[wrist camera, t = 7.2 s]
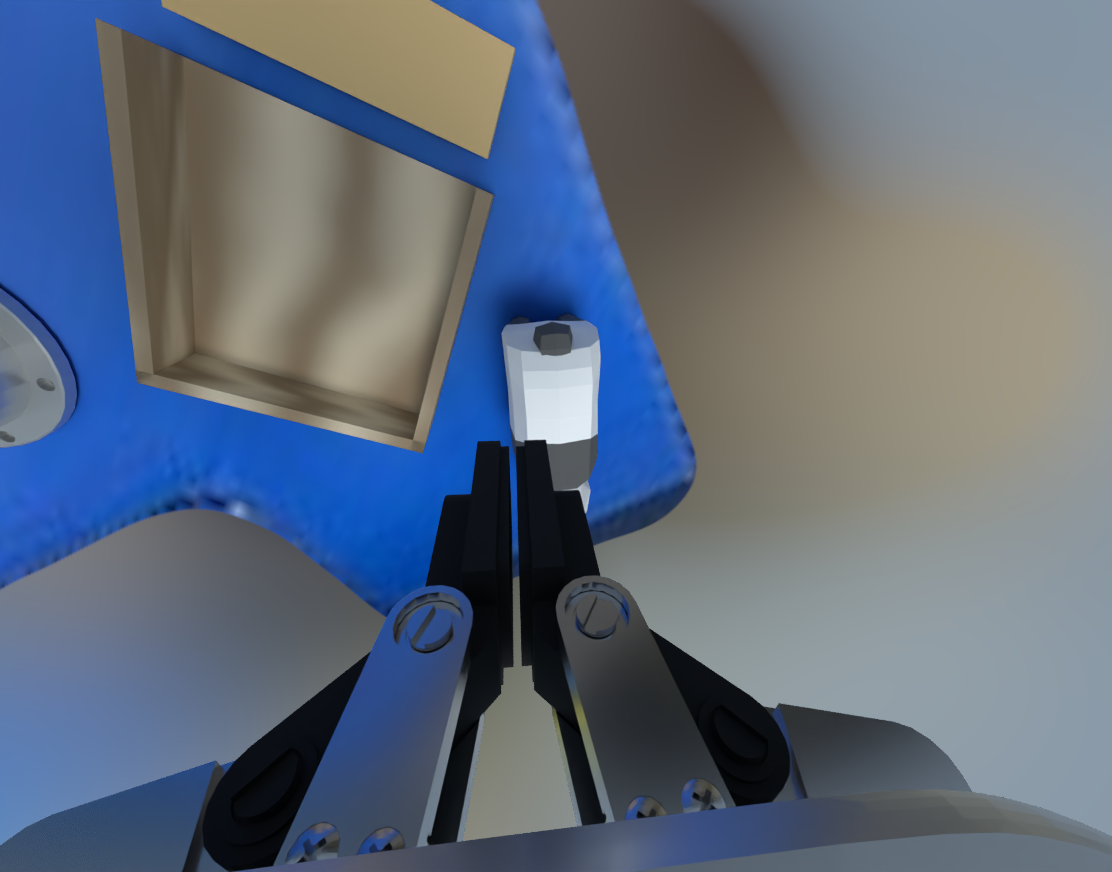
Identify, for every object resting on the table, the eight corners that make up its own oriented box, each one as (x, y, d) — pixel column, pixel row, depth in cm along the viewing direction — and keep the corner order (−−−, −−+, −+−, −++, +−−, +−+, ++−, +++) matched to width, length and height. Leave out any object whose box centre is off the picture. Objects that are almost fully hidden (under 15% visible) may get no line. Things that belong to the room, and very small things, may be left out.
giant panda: (500, 299, 26) (498, 346, 18) (584, 295, 26) (620, 339, 18) (516, 479, 33) (521, 570, 25) (581, 473, 34) (606, 561, 26)
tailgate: (161, 6, 17) (145, -160, 14) (181, 14, 18) (168, -140, 15) (487, 159, 21) (514, 48, 18) (488, 158, 22) (515, 53, 19)
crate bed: (186, 357, 26) (137, 382, 22) (170, 50, 18) (95, 17, 15) (432, 423, 30) (422, 453, 26) (494, 195, 23) (493, 194, 19)
